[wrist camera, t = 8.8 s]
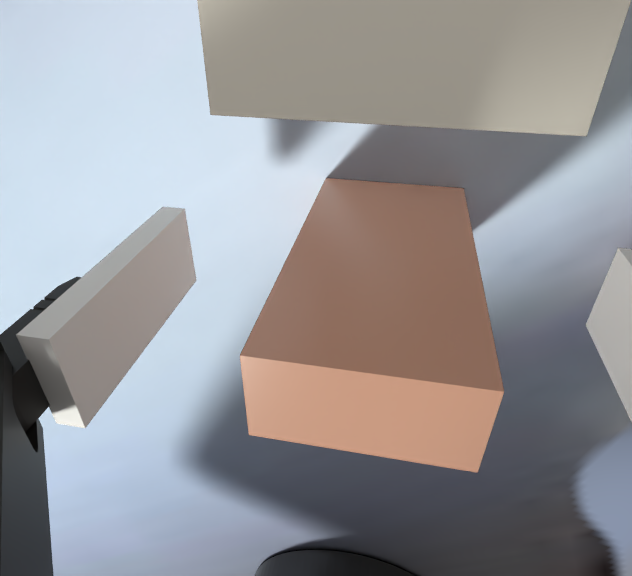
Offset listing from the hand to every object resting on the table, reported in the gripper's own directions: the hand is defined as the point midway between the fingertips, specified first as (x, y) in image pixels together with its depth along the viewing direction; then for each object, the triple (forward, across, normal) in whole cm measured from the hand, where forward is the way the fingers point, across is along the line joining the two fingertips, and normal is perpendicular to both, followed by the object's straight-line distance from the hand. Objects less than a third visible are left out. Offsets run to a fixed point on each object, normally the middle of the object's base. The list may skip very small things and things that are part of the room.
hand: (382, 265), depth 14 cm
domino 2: (+4, 0, 0) cm, 4 cm away
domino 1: (+4, 0, -7) cm, 8 cm away
